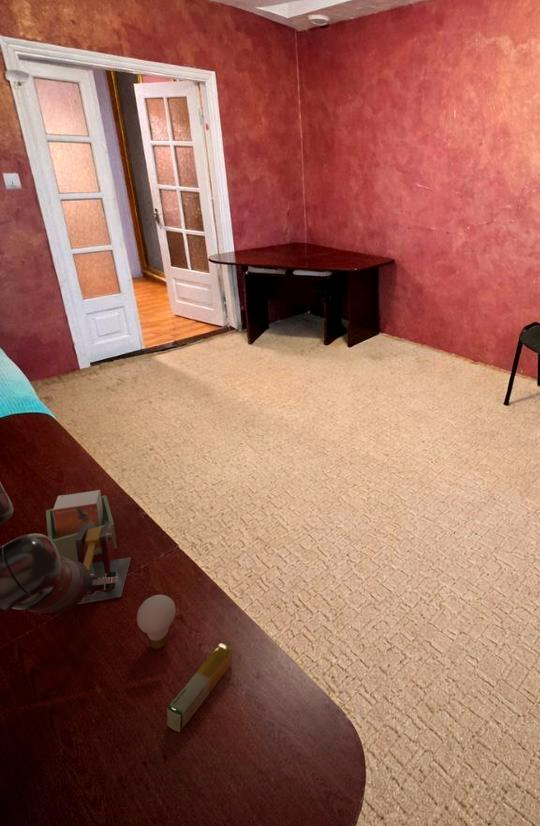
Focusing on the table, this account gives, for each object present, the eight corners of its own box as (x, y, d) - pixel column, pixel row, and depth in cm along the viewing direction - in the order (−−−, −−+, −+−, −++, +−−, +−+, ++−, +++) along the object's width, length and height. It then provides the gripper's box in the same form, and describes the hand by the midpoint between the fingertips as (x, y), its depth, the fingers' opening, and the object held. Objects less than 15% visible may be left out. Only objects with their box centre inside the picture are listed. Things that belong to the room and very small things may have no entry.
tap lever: (92, 603, 83) (88, 589, 81) (67, 607, 82) (63, 594, 80) (108, 537, 95) (105, 524, 93) (86, 540, 93) (83, 527, 92)
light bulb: (154, 667, 80) (148, 620, 77) (133, 649, 83) (127, 603, 80) (185, 642, 85) (181, 597, 82) (164, 625, 87) (160, 581, 84)
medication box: (180, 734, 70) (180, 716, 69) (165, 726, 71) (164, 708, 70) (232, 664, 81) (233, 647, 80) (219, 657, 82) (220, 640, 80)
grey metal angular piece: (121, 601, 92) (114, 545, 88) (66, 610, 89) (56, 554, 85) (131, 561, 102) (125, 510, 98) (82, 569, 99) (74, 516, 95)
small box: (58, 552, 102) (51, 510, 98) (63, 535, 106) (57, 495, 103) (102, 544, 105) (96, 503, 102) (105, 528, 110) (100, 488, 106)
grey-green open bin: (50, 536, 107) (45, 510, 105) (109, 519, 114) (106, 495, 112) (53, 570, 98) (48, 542, 96) (117, 550, 105) (114, 524, 102)
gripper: (-11, 622, 67) (34, 621, 81) (106, 602, 72) (128, 605, 86) (-1, 565, 70) (40, 574, 85) (110, 549, 75) (131, 560, 89)
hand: (85, 589), depth 85 cm, fingers closed on tap lever, 3 cm apart
